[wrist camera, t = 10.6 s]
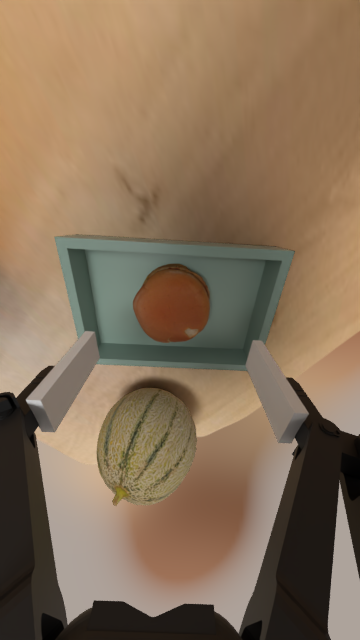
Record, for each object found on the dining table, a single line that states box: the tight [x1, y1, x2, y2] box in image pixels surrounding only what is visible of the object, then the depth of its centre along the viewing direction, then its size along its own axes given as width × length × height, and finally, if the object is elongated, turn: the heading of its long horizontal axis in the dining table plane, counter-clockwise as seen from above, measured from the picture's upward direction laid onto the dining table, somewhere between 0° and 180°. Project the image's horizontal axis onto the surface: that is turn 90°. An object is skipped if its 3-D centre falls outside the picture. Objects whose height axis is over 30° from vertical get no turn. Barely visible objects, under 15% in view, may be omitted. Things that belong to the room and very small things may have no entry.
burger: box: [133, 264, 210, 343], centre depth 23 cm, size 10×9×5 cm
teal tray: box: [55, 234, 295, 371], centre depth 24 cm, size 16×24×4 cm, turn 87°
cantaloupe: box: [97, 388, 197, 506], centre depth 29 cm, size 15×15×15 cm
